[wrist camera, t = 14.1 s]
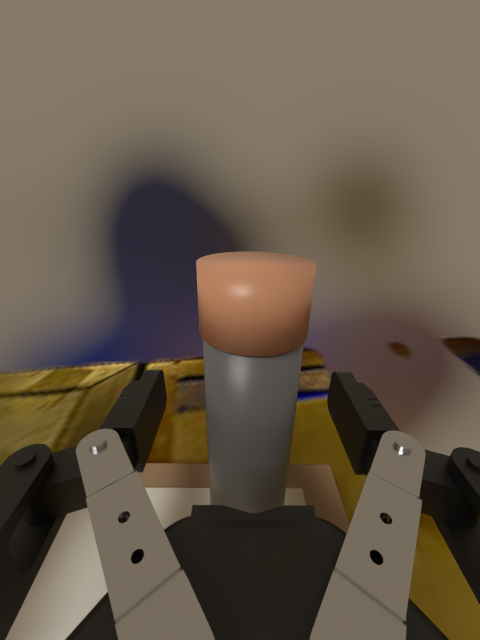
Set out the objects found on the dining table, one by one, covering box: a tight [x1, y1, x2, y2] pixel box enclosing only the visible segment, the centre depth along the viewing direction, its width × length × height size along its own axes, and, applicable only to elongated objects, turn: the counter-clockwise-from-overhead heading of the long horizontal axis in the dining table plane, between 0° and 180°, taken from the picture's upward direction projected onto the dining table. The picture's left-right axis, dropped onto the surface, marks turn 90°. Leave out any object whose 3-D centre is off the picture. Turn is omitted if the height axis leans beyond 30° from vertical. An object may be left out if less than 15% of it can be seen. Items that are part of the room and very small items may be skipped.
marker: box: [196, 252, 316, 513], centre depth 12 cm, size 4×4×16 cm
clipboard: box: [5, 463, 350, 640], centre depth 13 cm, size 21×17×2 cm
